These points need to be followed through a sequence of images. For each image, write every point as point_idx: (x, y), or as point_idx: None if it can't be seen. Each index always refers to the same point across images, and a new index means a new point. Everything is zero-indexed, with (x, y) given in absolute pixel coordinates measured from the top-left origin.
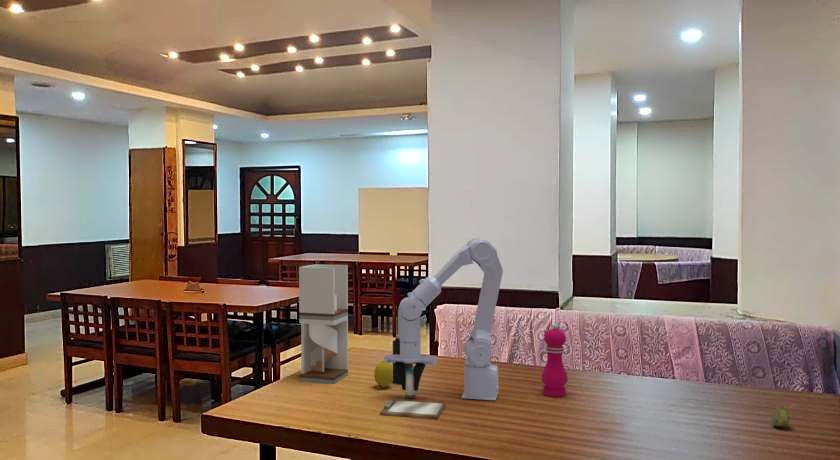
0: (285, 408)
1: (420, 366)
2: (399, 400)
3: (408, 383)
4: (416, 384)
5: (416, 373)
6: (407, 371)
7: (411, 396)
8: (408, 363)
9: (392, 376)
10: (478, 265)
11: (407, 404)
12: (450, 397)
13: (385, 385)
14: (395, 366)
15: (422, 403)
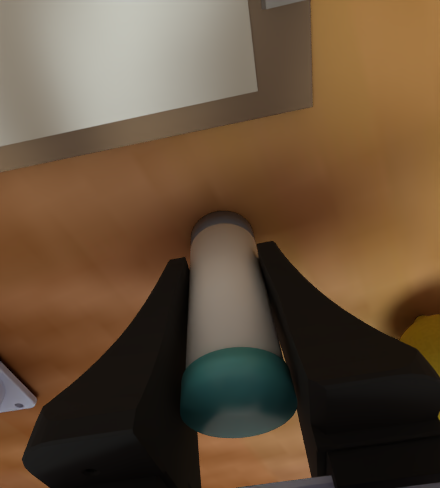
0: None
1: (55, 465)
2: (247, 119)
3: (227, 278)
4: (158, 287)
5: (128, 362)
6: (247, 369)
7: (202, 225)
8: (265, 486)
9: None
10: None
11: (120, 15)
12: (30, 317)
13: (417, 321)
14: (429, 383)
15: (31, 107)
